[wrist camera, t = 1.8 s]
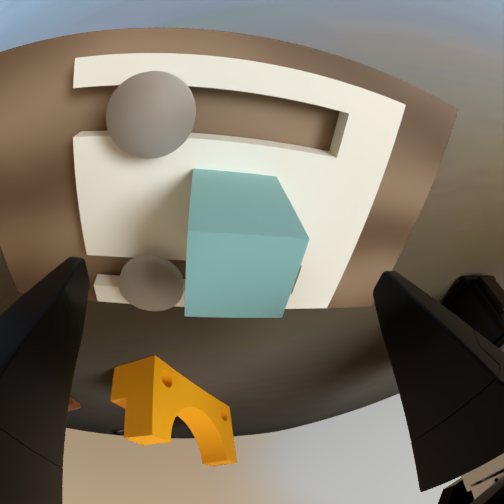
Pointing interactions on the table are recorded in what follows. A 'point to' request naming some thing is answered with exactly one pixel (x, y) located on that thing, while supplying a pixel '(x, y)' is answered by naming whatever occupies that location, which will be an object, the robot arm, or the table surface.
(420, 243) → the table surface
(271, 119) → the boss board
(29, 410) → the robot arm
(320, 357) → the table surface
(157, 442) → the pipe clamp
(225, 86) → the keyhole panel
